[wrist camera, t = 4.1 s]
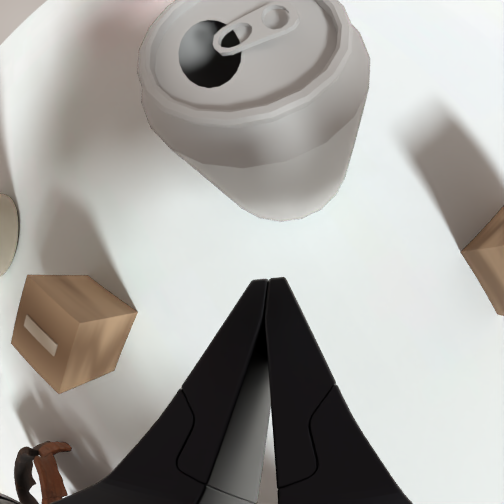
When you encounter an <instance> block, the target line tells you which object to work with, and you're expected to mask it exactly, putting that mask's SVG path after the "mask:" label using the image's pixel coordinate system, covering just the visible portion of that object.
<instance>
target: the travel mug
mask: <svg viewBox="0 0 504 504" xmlns="http://www.w3.org/2000/svg"><path fill="white" fill-rule="evenodd" d="M17 240H18V215H17V210H16V207H15V204H14V202H13V200H12V199H11V198H10V197H9V196H7V195H5V194H1V193H0V276H2V275H3V274H4V273H5V272H6V271H7V270H8V268H9V267H10V265H11V263H12V260H13V258H14V254H15V251H16V246H17Z"/></svg>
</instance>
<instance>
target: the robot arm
mask: <svg viewBox="0 0 504 504" xmlns="http://www.w3.org/2000/svg"><path fill="white" fill-rule="evenodd" d="M270 407H271V412H272V425H273V438H274V452H275V465H276V479H277V488H278V491H277V492H278V504H413V503H412V502H411V501H410V500H409V499H408V498H407V496H406V495H405V494H404V493H403V492H402V490H401V489H400V488H399V486H398V485H397V484H396V482H395V481H394V479H393V478H392V476H391V475H390V473H389V472H388V470H387V469H386V467H385V466H384V464H383V463H382V461H381V460H380V458H379V457H378V455H377V454H376V452H375V451H374V449H373V448H372V446H371V445H370V443H369V442H368V440H367V439H366V437H365V436H364V434H363V433H362V431H361V429H360V428H359V426H358V424H357V423H356V421H355V419H354V418H353V416H352V414H351V412H350V410H349V408H348V406H347V404H346V402H345V400H344V398H343V396H342V394H341V392H340V390H339V388H338V386H337V385H336V382H335V379H334V377H333V375H332V373H331V371H330V369H329V367H328V365H327V362H326V360H325V358H324V356H323V354H322V352H321V350H320V348H319V346H318V344H317V342H316V339H315V337H314V335H313V333H312V331H311V329H310V327H309V325H308V323H307V321H306V319H305V317H304V315H303V312H302V310H301V308H300V306H299V304H298V302H297V300H296V298H295V296H294V294H293V292H292V290H291V288H290V286H289V284H288V282H287V280H286V278H285V277H279V278H271V279H269V280H268V279H258V280H253V281H251V282H250V284H249V285H248V287H247V288H246V290H245V292H244V293H243V295H242V296H241V298H240V299H239V301H238V302H237V304H236V305H235V307H234V308H233V310H232V311H231V313H230V314H229V316H228V317H227V319H226V320H225V322H224V323H223V325H222V326H221V328H220V329H219V331H218V333H217V334H216V336H215V337H214V339H213V340H212V342H211V343H210V345H209V346H208V348H207V349H206V351H205V352H204V354H203V355H202V357H201V358H200V360H199V361H198V363H197V364H196V366H195V367H194V369H193V370H192V371H191V373H190V374H189V376H188V377H187V379H186V380H185V382H184V383H183V385H182V389H179V390H178V392H177V394H176V395H175V396H174V398H173V399H172V401H171V402H170V404H169V405H168V406H167V408H166V409H165V411H164V412H163V413H162V415H161V416H160V417H159V419H158V420H157V421H156V422H155V424H154V425H153V426H152V427H151V428H150V430H149V431H148V432H147V433H146V434H145V436H144V437H143V438H142V439H141V440H140V441H139V442H138V444H137V445H136V446H135V447H134V448H133V449H132V450H131V451H130V453H129V454H128V455H127V456H126V457H125V458H124V459H123V460H122V461H121V463H120V464H119V465H118V466H117V467H116V468H115V469H114V470H113V471H112V472H111V473H110V474H109V475H108V476H107V477H105V478H104V479H103V480H101V481H100V482H98V483H96V484H95V485H93V486H91V487H89V488H86V489H84V490H82V491H79V492H77V493H75V494H72V495H70V496H67V497H65V498H63V499H60V500H58V501H55V502H52V503H50V504H257V501H258V494H259V488H260V481H261V474H262V467H263V460H264V453H265V446H266V438H267V431H268V423H269V415H270ZM0 504H22V503H20V502H18V501H16V500H14V499H12V498H10V497H8V496H6V495H4V494H1V493H0Z"/></svg>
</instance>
